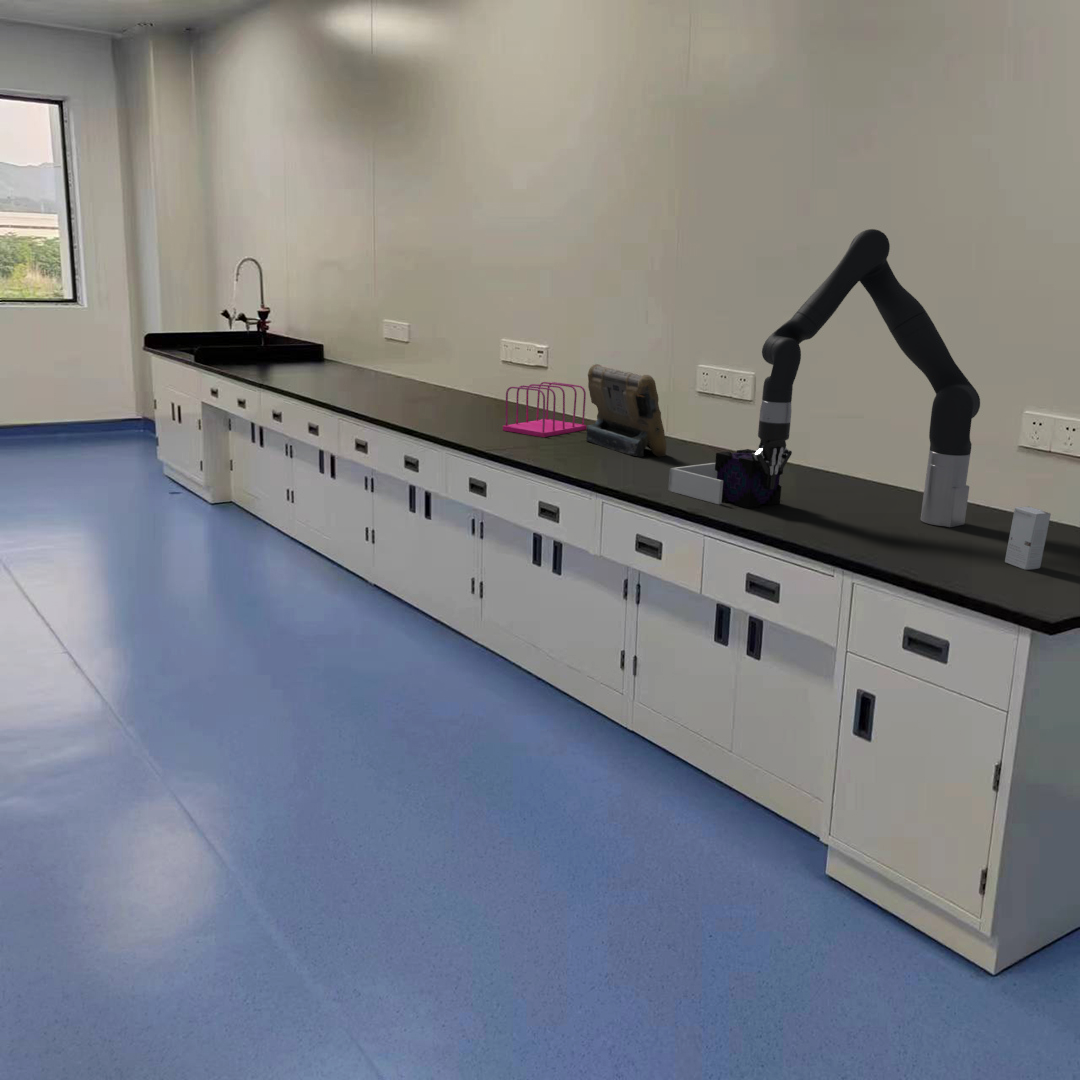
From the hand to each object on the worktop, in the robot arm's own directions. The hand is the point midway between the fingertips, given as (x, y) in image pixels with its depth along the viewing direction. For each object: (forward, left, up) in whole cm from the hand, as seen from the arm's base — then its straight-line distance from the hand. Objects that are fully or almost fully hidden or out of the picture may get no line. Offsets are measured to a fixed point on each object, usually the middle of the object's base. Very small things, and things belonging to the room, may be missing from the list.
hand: (768, 488), depth 277 cm
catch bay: (+17, 0, -5) cm, 18 cm away
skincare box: (-64, -7, -5) cm, 64 cm away
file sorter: (+118, -22, -5) cm, 120 cm away
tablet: (+79, -24, -5) cm, 83 cm away
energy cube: (+7, -1, -5) cm, 9 cm away
